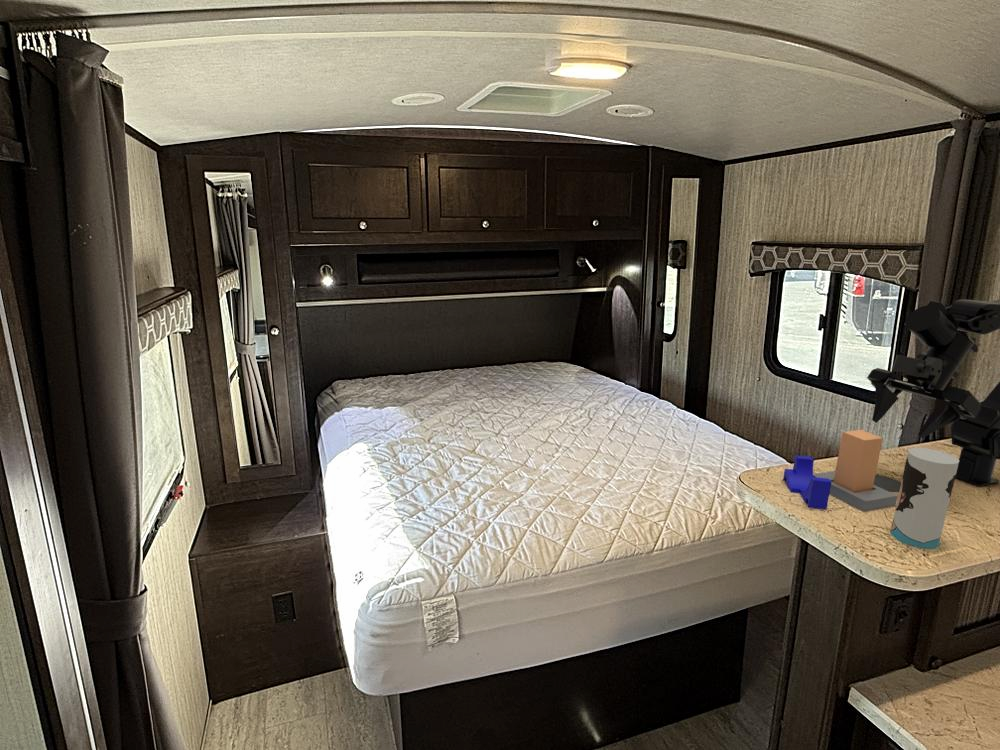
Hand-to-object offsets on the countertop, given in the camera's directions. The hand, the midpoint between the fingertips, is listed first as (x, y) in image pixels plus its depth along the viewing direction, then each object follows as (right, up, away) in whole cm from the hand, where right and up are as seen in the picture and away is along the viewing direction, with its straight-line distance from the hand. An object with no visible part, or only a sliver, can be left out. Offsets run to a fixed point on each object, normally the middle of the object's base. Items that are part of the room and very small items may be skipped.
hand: (896, 429), depth 115 cm
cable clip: (-17, -13, 0) cm, 22 cm away
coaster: (+1, -12, +6) cm, 13 cm away
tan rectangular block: (-8, -12, +1) cm, 15 cm away
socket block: (-8, -13, +1) cm, 15 cm away
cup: (-7, -17, -15) cm, 24 cm away
